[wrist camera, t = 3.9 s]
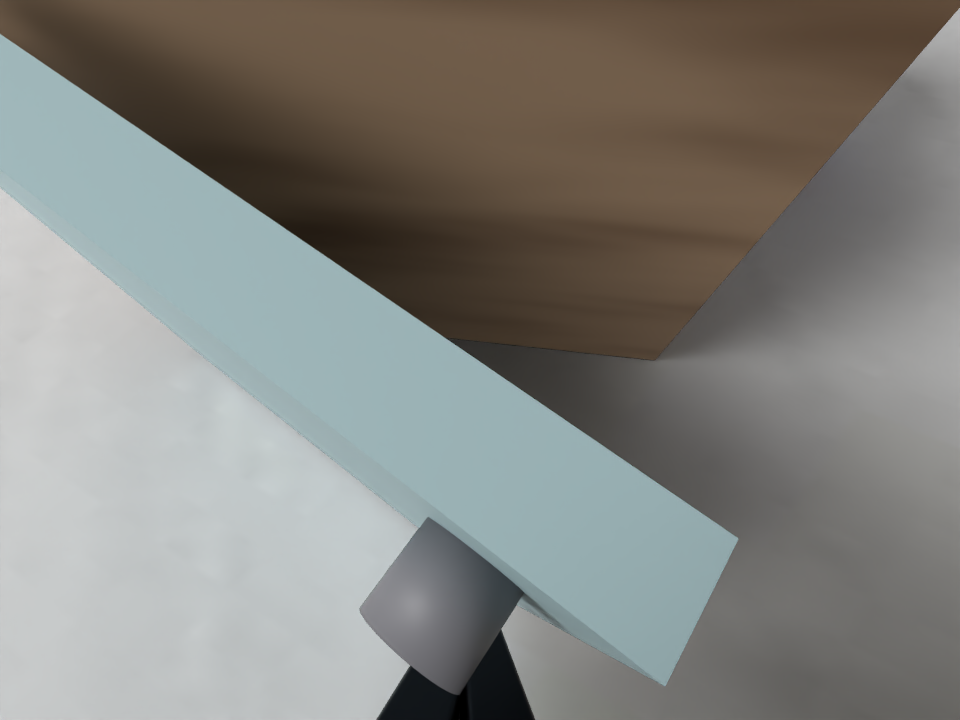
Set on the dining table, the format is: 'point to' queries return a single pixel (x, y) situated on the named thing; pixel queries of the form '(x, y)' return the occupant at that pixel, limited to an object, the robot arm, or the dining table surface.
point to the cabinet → (501, 136)
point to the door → (374, 402)
